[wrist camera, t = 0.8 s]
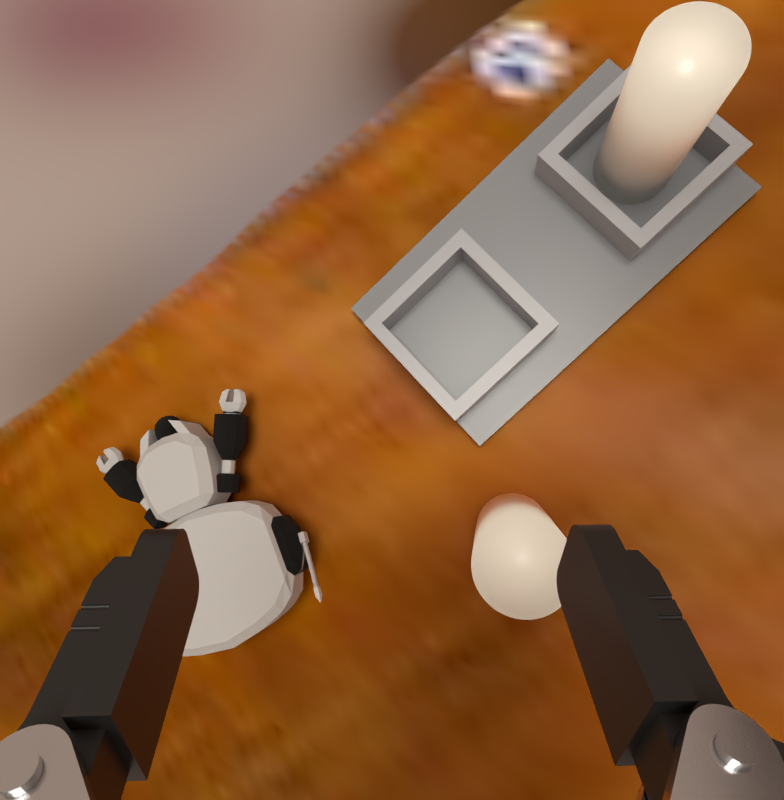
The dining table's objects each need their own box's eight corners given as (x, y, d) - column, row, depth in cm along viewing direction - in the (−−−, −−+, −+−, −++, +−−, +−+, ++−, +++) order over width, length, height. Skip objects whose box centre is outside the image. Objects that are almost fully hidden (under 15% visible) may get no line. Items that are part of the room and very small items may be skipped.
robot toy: (117, 456, 39) (181, 664, 36) (68, 453, 35) (136, 690, 32) (265, 384, 38) (345, 595, 34) (233, 372, 33) (322, 612, 30)
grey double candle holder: (605, 67, 34) (658, -102, 23) (755, 193, 32) (887, 70, 21) (353, 311, 36) (296, 256, 25) (480, 446, 34) (476, 448, 23)
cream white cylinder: (514, 477, 33) (524, 493, 23) (565, 533, 32) (599, 573, 23) (461, 525, 34) (450, 560, 24) (511, 581, 33) (521, 641, 23)
